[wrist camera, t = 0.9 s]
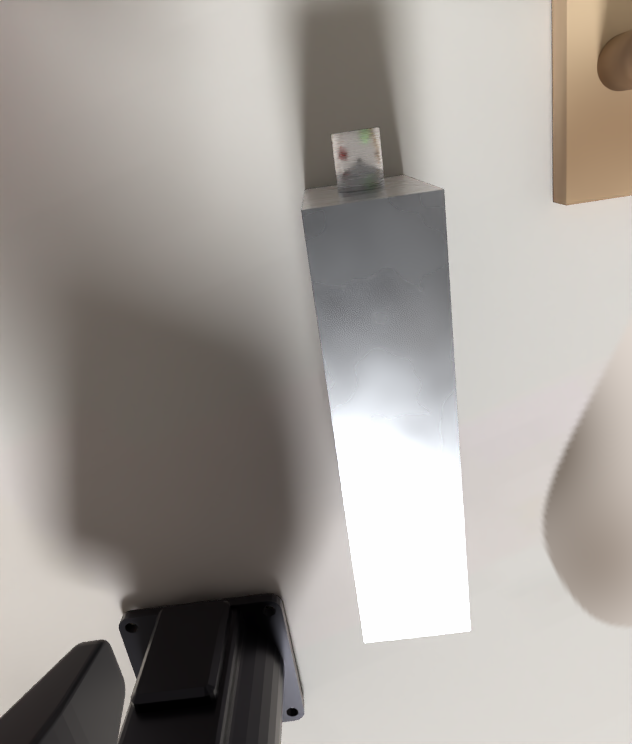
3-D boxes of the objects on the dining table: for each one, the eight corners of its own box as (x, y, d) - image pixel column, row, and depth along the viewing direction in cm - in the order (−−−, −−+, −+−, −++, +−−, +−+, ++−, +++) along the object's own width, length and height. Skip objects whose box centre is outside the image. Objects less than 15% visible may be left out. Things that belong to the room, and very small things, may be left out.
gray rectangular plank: (430, 508, 22) (470, 630, 17) (351, 517, 22) (364, 642, 17) (398, 124, 17) (439, 116, 12) (298, 140, 17) (290, 139, 12)
